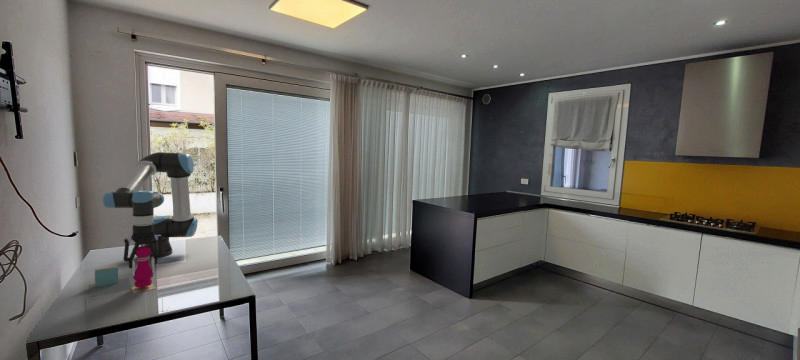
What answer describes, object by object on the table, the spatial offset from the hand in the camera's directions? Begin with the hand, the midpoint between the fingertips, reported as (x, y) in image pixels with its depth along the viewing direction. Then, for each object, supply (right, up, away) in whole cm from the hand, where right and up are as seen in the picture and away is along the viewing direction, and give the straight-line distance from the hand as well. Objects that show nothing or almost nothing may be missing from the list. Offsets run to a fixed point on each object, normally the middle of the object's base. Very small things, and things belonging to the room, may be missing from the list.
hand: (143, 272), depth 149 cm
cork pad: (0, -8, 0) cm, 8 cm away
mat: (-16, -7, 0) cm, 17 cm away
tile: (-19, -6, +3) cm, 21 cm away
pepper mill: (0, -6, 0) cm, 6 cm away
